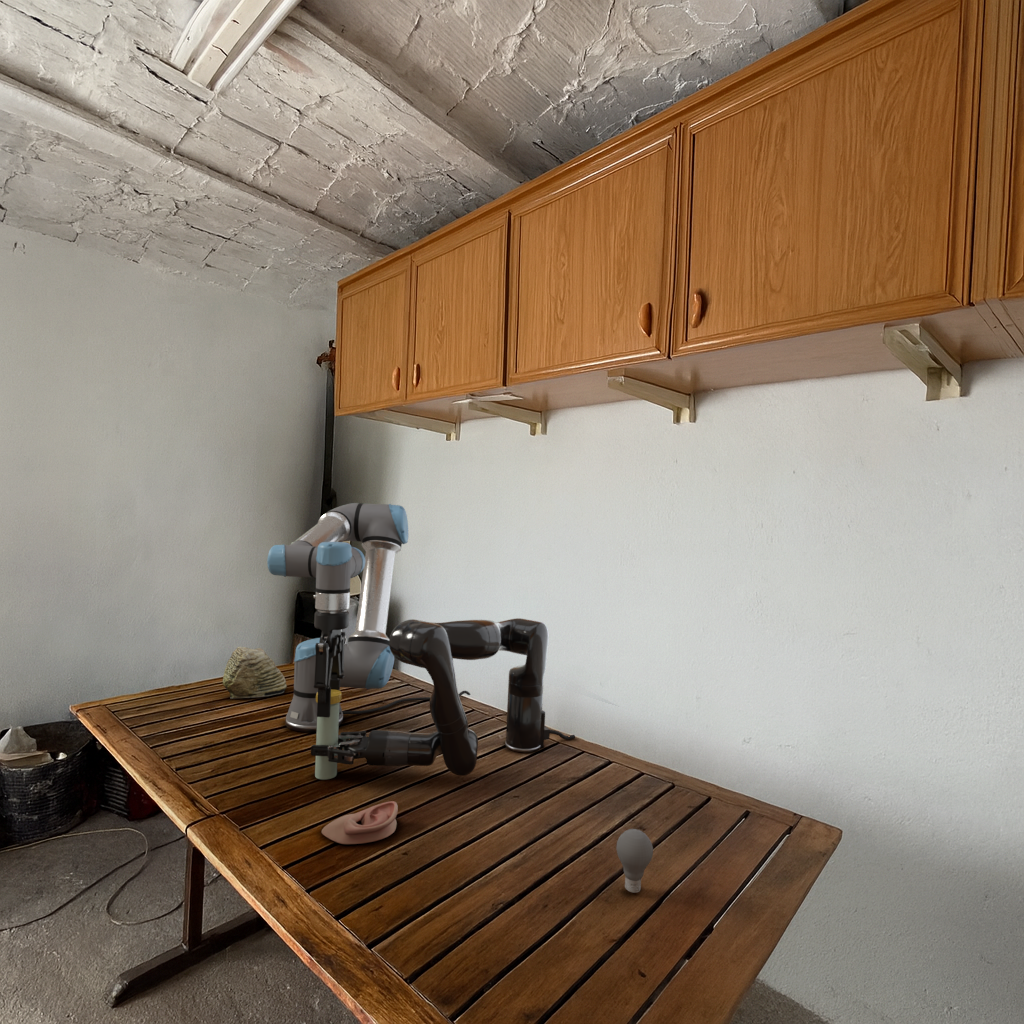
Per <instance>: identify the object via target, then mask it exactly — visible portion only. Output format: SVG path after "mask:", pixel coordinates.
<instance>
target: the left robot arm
mask: <svg viewBox="0 0 1024 1024" xmlns="http://www.w3.org/2000/svg"><path fill="white" fill-rule="evenodd" d="M348 542H358V543H359V542H360V543H361V547H362V549H363V550H364V551H365V555H364V553H363V552H362V551H361V550H360V549H359V548H358V547H354V546H352V545H351V544H350V543H348ZM408 542H409V521H408V514H407V511H406V509H405V507H404V506H402V505H400V504H392V503H387V504H386V503H361V502H351V503H346V504H343V505H340V506H337V507H335V508H333V509H330V510H328V511H327V512H325V513H324V514H323V515H321V516H320V517H319V519H318V521H317V523H316V524H315V525H314V526H312V527H311V528H310V529H308V530H307V531H306V532H304V533H303V534H302V535H301V536H300V537H298V538H297V539H295V540H294V541H293V542H291V543H290V544H286V543H285V544H284V543H283V544H274V545H273V546H271V547H270V549H269V551H268V554H267V559H266V561H267V563H266V564H267V569H268V572H269V573H270V574H271V575H273V576H277V577H280V576H281V577H285V578H286V577H289V578H290V577H292V578H296V577H297V578H298V577H299V578H315V594H313V599H314V600H315V601H314V608H315V610H316V611H315V612H314V620H313V621H314V628H315V629H317V630H320V631H321V635H320V637H315V638H311V639H307V640H304V641H302V642H300V643H298V644H297V645H296V648H295V655H294V659H293V662H294V672H293V695H292V696H293V697H292V699H291V702H290V704H289V708H288V711H287V713H286V715H285V726H286V728H287V729H289V730H291V731H294V732H295V731H296V732H301V733H317V717H330V705H331V689H333V690H339V691H341V688H349V689H366V690H370V689H373V690H374V689H376V690H377V689H379V690H380V689H382V688H384V687H385V686H386V685H387V684H388V683H389V681H390V678H391V675H392V672H393V668H394V664H395V657H394V656H393V654H392V653H391V650H390V647H389V639H390V637H388V635H387V634H386V633H387V626H388V618H389V608H390V601H391V593H392V584H393V577H394V568H395V560H396V555H397V554H398V553H400V552H401V550H402V545H405V544H407V543H408ZM361 573H362V578H361V585H360V592H359V600H358V607H357V612H356V613H357V615H356V621H355V628H354V632H352V633H351V634H350V635H349V636H348V638H347V643H345V642H346V641H345V640H346V635H347V634H346V631H342V630H345V629H347V628H348V627H349V624H350V612H349V611H348V610H349V609H350V606H351V579H353V578H356V577H358V576H359V575H360V574H361ZM317 692H318V703H317V702H316V693H317ZM458 694H459V697H460V698H461V696H463V695H464V694H466V695H467V696H470V695H471V692H469V691H468V690H462V691H460V692H458ZM430 698H431V696H421V697H420V696H419V697H407V698H402V699H396V700H394V701H392V702H390V703H388V704H385V705H383V706H380V707H374V708H369V709H362V710H343V709H342V706H341V701H340V702H339V726H340V725H342V723H343V722H344V715H362V714H369V713H374V712H378V711H383V710H385V709H388V708H390V707H392V706H394V705H397V704H400V703H404V702H413V701H414V702H415V701H430Z"/></svg>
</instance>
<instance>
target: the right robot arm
mask: <svg viewBox="0 0 1024 1024" xmlns="http://www.w3.org/2000/svg"><path fill="white" fill-rule="evenodd" d="M549 638H550V636H549V629H548V626H547V625H546V623H544V622H543V621H539V620H533V619H527V618H519V617H517V618H511V619H506V620H501V621H494V620H490V619H465V620H452V621H445V622H432V621H426V620H420V619H414V618H412V619H411V618H410V619H406V620H404V621H401V622H400V623H398V624H397V625H396V626H395V627H394V628H393V630H392V631H391V633H390V635H389V647H390V650H391V653H392V654H393V656H394V659H396V660H398V661H399V662H401V663H404V664H406V665H411V666H414V667H418V668H422V669H424V670H426V671H427V673H428V674H429V675H428V676H430V679H431V680H432V684H433V688H432V692H431V694H430V697H431V698H430V700H429V713H430V715H431V718H432V721H433V723H434V726H435V729H436V731H433V732H430V733H423V732H407V731H403V730H402V731H400V730H379V729H378V730H377V729H376V730H375V729H374V730H371V731H370V732H369V734H368V736H367V731H366V730H357V731H341V732H340V733H339V734H338V745H330V746H329V745H316V744H312V745H311V747H310V756H313V757H316V756H328V761H329V762H336V763H337V764H344V765H349V766H351V765H354V762H355V761H354V760H359V759H365V761H366V764H367V765H369V766H378V767H406V766H409V767H410V766H412V767H429V766H432V765H433V764H434V763H435V761H436V758H437V756H439V755H441V754H442V758H443V759H442V760H443V761H444V764H445V766H446V768H447V770H448V771H449V772H450V773H451V774H453V775H455V776H458V777H466V776H468V775H469V774H471V773H472V772H473V771H474V770H475V768H476V765H477V762H478V748H479V747H478V746H479V737H478V735H477V734H476V733H475V731H474V730H472V729H470V728H469V722H468V718H467V717H468V716H467V714H466V712H465V710H464V706H463V703H462V701H461V696H460V697H459V690H458V685H457V677H456V671H455V664H454V659H455V660H463V661H477V660H486V659H491V658H492V657H494V656H496V655H497V654H498V653H499V652H508V653H512V654H516V655H522V656H525V658H526V659H525V664H521V665H515V666H513V667H511V668H510V669H509V670H508V684H507V707H506V725H505V726H506V727H505V741H504V742H505V744H504V745H505V747H506V748H507V750H510V751H512V752H517V753H533V752H537V751H539V750H541V749H544V747H545V741H547V740H550V738H551V737H550V736H551V735H556V736H558V737H560V738H561V739H563V740H566V741H570V740H574V739H576V735H575V734H571V735H565V734H563V733H562V732H560V731H558V730H554V729H550V728H548V726H546V711H545V710H544V709H543V704H544V681H545V674H546V671H547V670H546V669H547V663H548V662H547V660H548V650H549ZM568 736H570V737H568ZM334 753H335V754H334Z"/></svg>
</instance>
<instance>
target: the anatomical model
mask: <svg viewBox="0 0 1024 1024" xmlns="http://www.w3.org/2000/svg"><path fill="white" fill-rule="evenodd" d="M398 809H399V806H398V803H397V802H396V801H393V800H392V801H391V800H390V801H385V802H381V803H378V804H376V805H372V806H370V807H368V808H365V809H363V810H360V811H358V812H355V813H350V814H344V815H342V816H340V817H338V818H336V819H334V820H332V821H331V822H329V823H327V824H326V825H325V826H323V828H322V829H321V834H322V835H323V836H324V837H325V838H327V839H328V840H331V841H333V842H335V843H337V844H341V845H357V844H358V845H359V844H367V843H372V842H377V841H380V840H384V839H385V838H388V837H389V836H391V835H392V834H393V833H395V831H396V829H397V826H398V823H397V820H396V819H397V815H398V812H399V811H398Z"/></svg>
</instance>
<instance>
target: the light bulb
mask: <svg viewBox="0 0 1024 1024" xmlns="http://www.w3.org/2000/svg"><path fill="white" fill-rule="evenodd" d="M615 849H616V854H617V857H618V859H619V861H620V863H621V865H622V867H623V873H624V874H623V875H624V876H625V878H624V888H625V890H627V891H628V892H630V893H634V894H635V893H639V892H640V891H641V889H642V887H641V886H642V879H643V877H644V875H645V871H646V868H647V867H648V866H649V864H650V863H651V861H652V859H653V855H654V847H653V843H652V841H651V838H649V836H648V835H647V834H646V833H645V832H643V831H642V830H641V829H636V828H629V829H627V830H625V831H623V832H622V833H621V834H620V835H619V837H618V839H617V841H616V847H615Z"/></svg>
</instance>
